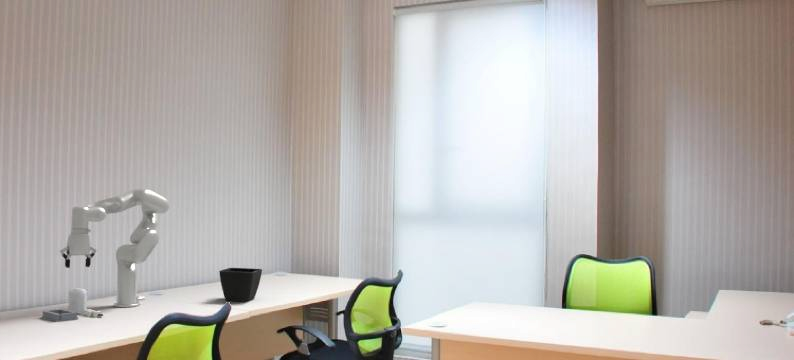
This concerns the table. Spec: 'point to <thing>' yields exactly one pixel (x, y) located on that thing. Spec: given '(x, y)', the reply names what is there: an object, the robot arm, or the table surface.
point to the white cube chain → (93, 313)
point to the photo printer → (77, 300)
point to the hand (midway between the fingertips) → (77, 267)
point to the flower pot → (240, 283)
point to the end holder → (59, 315)
